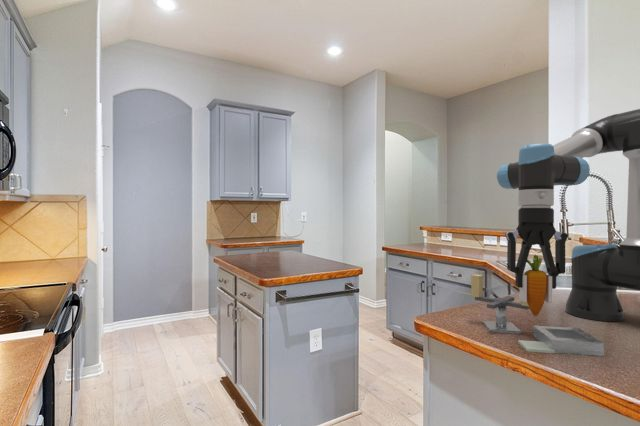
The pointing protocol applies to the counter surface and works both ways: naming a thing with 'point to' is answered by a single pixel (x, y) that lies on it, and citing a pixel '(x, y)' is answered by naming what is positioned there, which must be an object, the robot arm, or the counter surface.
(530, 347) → the pad
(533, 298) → the carrot
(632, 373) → the counter surface
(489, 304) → the handwheel
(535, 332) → the gray square frame
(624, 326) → the counter surface
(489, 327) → the square base pedestal
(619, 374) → the counter surface
